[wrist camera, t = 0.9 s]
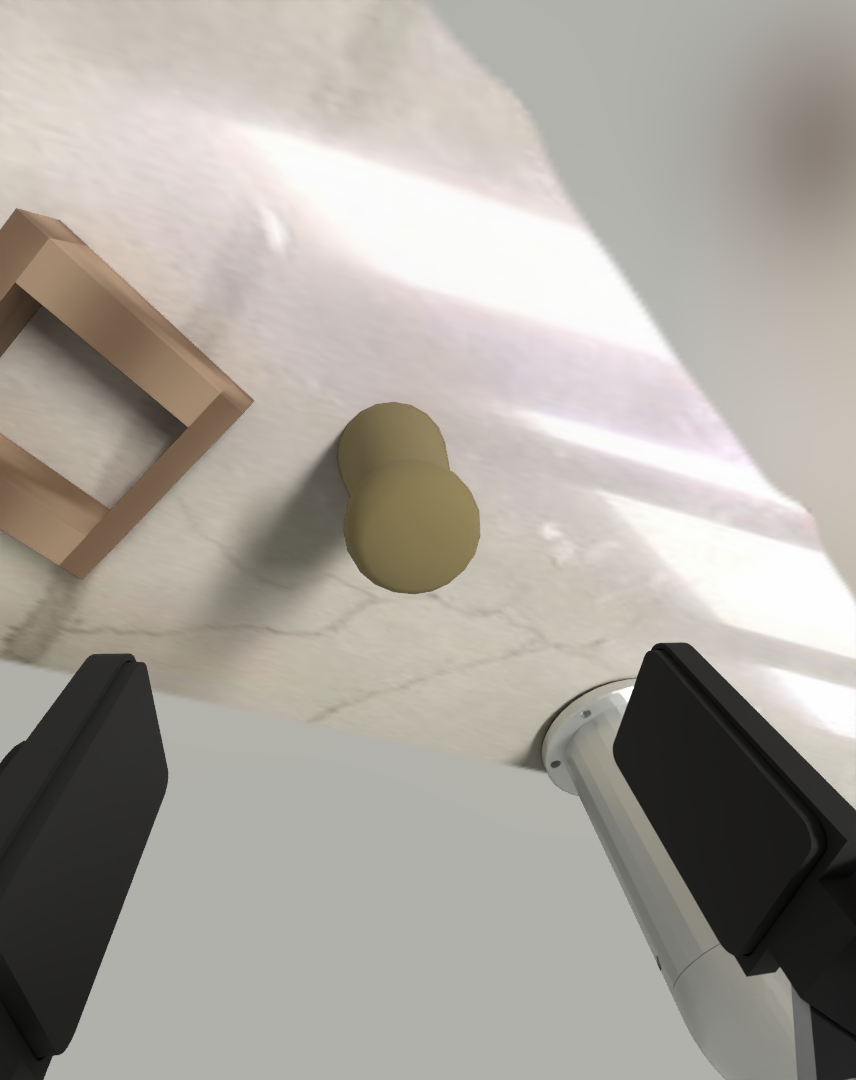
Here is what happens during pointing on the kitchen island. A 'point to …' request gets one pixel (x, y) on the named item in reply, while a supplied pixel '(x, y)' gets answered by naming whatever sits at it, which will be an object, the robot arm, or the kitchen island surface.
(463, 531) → the tan rounded tapered piece
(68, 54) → the kitchen island surface
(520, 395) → the kitchen island surface
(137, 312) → the walnut holder
